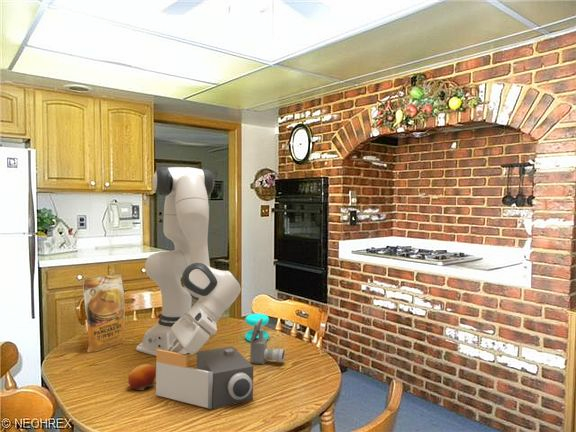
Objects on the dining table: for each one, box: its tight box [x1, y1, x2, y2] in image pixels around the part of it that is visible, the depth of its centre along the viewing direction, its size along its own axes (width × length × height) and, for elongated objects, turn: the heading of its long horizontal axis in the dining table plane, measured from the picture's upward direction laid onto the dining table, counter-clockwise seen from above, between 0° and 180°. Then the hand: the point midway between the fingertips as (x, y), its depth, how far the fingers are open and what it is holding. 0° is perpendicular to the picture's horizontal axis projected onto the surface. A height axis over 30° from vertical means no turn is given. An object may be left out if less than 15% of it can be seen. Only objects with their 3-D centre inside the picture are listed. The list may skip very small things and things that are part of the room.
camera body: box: [196, 346, 254, 409], centre depth 121 cm, size 20×12×11 cm, turn 27°
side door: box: [155, 349, 213, 410], centre depth 115 cm, size 19×1×14 cm, turn 68°
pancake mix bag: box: [81, 273, 126, 353], centre depth 158 cm, size 7×19×28 cm, turn 149°
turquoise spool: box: [244, 313, 270, 342], centre depth 170 cm, size 10×10×10 cm
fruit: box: [127, 363, 156, 391], centre depth 124 cm, size 8×8×8 cm
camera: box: [249, 318, 286, 365], centre depth 145 cm, size 9×12×15 cm
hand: (169, 354), depth 119 cm, fingers closed
